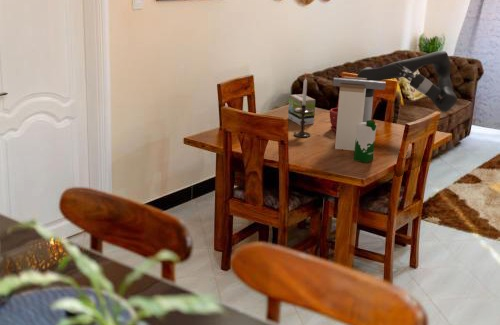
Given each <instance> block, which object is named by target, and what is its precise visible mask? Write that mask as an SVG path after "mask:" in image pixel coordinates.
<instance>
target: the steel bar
mask: <svg viewBox="0 0 500 325" xmlns="http://www.w3.org/2000/svg"><path fill="white" fill-rule="evenodd" d="M386 83H387V82H386V81H384V80H381V81H370V80H358V79H345V78H344V77H333V81H332V86H334V87H340V84H350V85H362V86H365V87H364V88H367V89H375V90H379V91H381V90H382V91H385V90H386Z"/></svg>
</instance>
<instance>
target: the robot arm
mask: <svg viewBox="0 0 500 325" xmlns="http://www.w3.org/2000/svg"><path fill="white" fill-rule="evenodd" d="M429 65H432V67H433V69H434V71H435V73H436V75H437V85H436V84H435V83H433V82H432V81H431V80H430V79H428V78H427V77H426V76H424V75H422V74H421V73H420V72H417V71H418V70H419V69H420V68H422V67H424V66H429ZM451 65H452V64H451V60H450V58H449V54H448V52H446V51H444V50H436V51H433V52H430V53H428V54H423V55H421V56H417V57H412V58H407V59H403V60H397V61H394V62H391V63H388V64H386V65H383V66H380V67H375V68H373V67H371V66H367V67H364V68H362V69H361V70H360V71H359V72H358V74H357V76H356V78H367V80H370V81H384V80H385V81H386V80H391V79H392V80H394V79H400V78H404V79H406V80H407V81H408V82H409V85H410V87H412V88H414V89H415V90H417V91H418V92H419V93H421V94H423V95H424V96H426V97H427V98H429V99H430V100H431V102H433V104H434V105H435V106H436V107H437V109H438V110H440V111H441V112H443V113H444V112H445V113H448V112H449V111H450V110H451V109H452V108H453V107H454V106H455V105H456V104H457V101H458V97H457V95H456V94H455V92H454V90H453V85H452V81H451ZM415 72H417V73H416V74H415ZM375 90H376V89H367V88H366V94H365V105H364V115H363V122H366V123H367V121H368V120H371V121H372V114H373V102H374V93H375Z"/></svg>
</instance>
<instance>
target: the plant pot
mask: <svg viewBox="0 0 500 325" xmlns="http://www.w3.org/2000/svg"><path fill="white" fill-rule="evenodd" d="M337 117H338V107H334V108H331V109H330V110H329V120H330V124H331V126H330V129H331V131H333V132H336V130H337Z"/></svg>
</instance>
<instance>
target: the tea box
mask: <svg viewBox="0 0 500 325" xmlns="http://www.w3.org/2000/svg"><path fill="white" fill-rule="evenodd" d="M302 100H303V93H301V94H300V93H299V94H289V96H288V108H287V109H288V112H287V113H288V114H287V119H289V120H290V121H292V122H294V123H295V124H297V125H299V126H301V123H300V121H302V114H298V113H295V112H294V111H293V110H294V108H298V107H302V106H301V104H302ZM306 105H308V106H306V108H311V109H313V110H314V112H313V113H312V114H305V115H304V121H305V124H304V126H305V125H314V123H315V115H316V114H315V113H316V112H315V111H316V99H315V98H312V97H310V96H308V95H306Z"/></svg>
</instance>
